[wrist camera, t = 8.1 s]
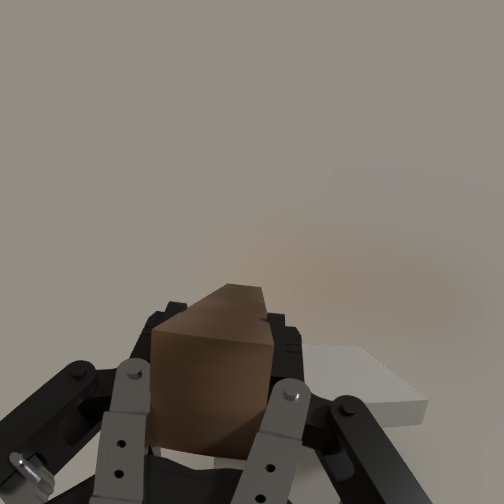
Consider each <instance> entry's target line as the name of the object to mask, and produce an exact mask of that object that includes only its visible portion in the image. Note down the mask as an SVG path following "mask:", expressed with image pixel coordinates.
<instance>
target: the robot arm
mask: <svg viewBox="0 0 504 504" xmlns="http://www.w3.org/2000/svg"><path fill="white" fill-rule="evenodd" d="M185 310H187V304H186V303H179V302H172V301H170V302H169V303H168V305H167V308H166V310H165V312H160V311H156V312H155V313H154V314H153V315H151V316H150V317H149V318H148V320H147V322H146V324H145V327H144V328H143V330H142V333H141V335H140V337H139V339H138V341H137V343H136V345H135V347H134V349H133V351H132V353H131V356H130V358H129V359H127V360H125V361H123V362H122V363H121V364H120V365H119V366H118V368H115V369H105V370H96V369H95V367H94V366H93V365H92V364H91V363H90V362H87V361H82V360H79V361H75V362H72V363H70V364H69V365H67V366H66V367H65V368H64V369H63V370H61V371H60V372H59V373H58V374H56V375H55V376H54V377H53V378H51V379H50V380H49V381H48V382H47V383H45V384H44V385H43V386H42V387H41V388H39V389H38V390H37V391H36V392H35V393H33V394H32V395H31V396H30V397H28V398H27V399H26V400H25V401H24V402H22V403H21V404H20V405H19V406H18V407H16V408H15V409H14V410H13V411H12V412H10V413H9V414H8V415H7V416H6V417H5V418H3V419H2V420H1V421H0V497H1V499H2V500H3V501H4V502H5V504H292V502H291V501H290V500H289V499H288V497H289V493H290V490H291V486H292V482H293V478H294V474H295V471H296V467H297V463H298V459H299V455H300V450H301V446H305V447H308V448H311V449H314V451H315V453H316V455H317V457H318V459H319V460H320V462H321V464H322V466H323V468H324V470H325V472H326V474H327V475H328V477H329V479H330V481H331V483H332V485H333V487H334V488H335V490H336V492H337V494H338V496H339V498H340V500H341V501H342V503H343V504H432V502H431V501H430V499H429V498H428V496H427V495H426V493H425V492H424V490H423V489H422V487H421V486H420V484H419V483H418V481H417V480H416V478H415V477H414V476H413V474H412V472H411V471H410V470H409V468H408V466H407V465H406V464H405V462H404V461H403V459H402V458H401V456H400V455H399V453H398V452H397V450H396V449H395V447H394V446H393V444H392V443H391V441H390V440H389V439H388V437H387V436H386V434H385V433H384V431H383V430H382V428H381V427H380V425H379V424H378V422H377V421H376V419H375V418H374V416H373V415H372V413H371V412H370V411H369V409H368V408H367V406H366V405H365V403H364V402H363V401H362V400H361V399H359V398H357V397H355V396H352V395H342V396H339V397H337V398H336V399H334V400H333V401H331V400H328V399H324V398H321V397H319V396H316V395H315V394H313V393H312V392H311V391H310V389H309V387H308V386H307V385H306V384H305V380H304V366H303V354H302V340H301V335H300V333H299V331H298V330H297V328H296V327H288V326H285V315H284V314H277V313H267V322H268V323H269V324H270V328H271V333H272V337H273V341H274V352H273V360H272V368H271V376H270V383H269V391H268V398H267V406H266V411H265V414H264V417H263V420H262V423H261V426H260V429H259V430H258V432H257V434H256V437H255V440H254V442H253V445H252V448H251V451H250V454H249V456H248V459H247V462H246V464H245V467H244V470H241V469H232V468H219V469H208V470H193V469H191V468H188V467H186V466H183V465H181V464H179V463H176V462H174V461H172V460H169V459H167V458H163V457H161V451H160V447H158V446H157V442H156V439H155V436H154V432H153V428H152V398H151V392H150V391H149V385H150V353H151V333H152V329H153V328H155V327H156V326H158V325H160V324H162V323H163V322H165V321H167V320H168V319H170V318H172V317H173V316H175V315H177V314H178V313H180V312H181V313H182V312H183V311H185ZM100 430H101V433H100V440H99V447H98V456H97V463H96V472H95V473H96V474H94V475H93V476H91V477H89V478H88V479H86V480H84V481H83V482H81V483H79V484H78V485H76V486H74V487H72V488H71V489H69V490H67V491H65V492H64V493H62V494H60V495H58V496H56V497H54V498H53V499H51V500H49V501H48V497H49V495H51V494H52V493H53V491H54V484H55V480H54V476H55V475H56V474H57V473H58V472H59V471H60V470H61V469H62V468H63V467H64V466H65V464H67V463H68V461H70V460H71V459H72V458H73V457H74V456H75V455H76V454H77V453H78V452H79V451H80V450H81V449H82V448H83V447H84V446H85V445H86V444H87V443H88V442H89V441H90V440H91V439H92V438H93V437H94V436H95V435H96V434H97V433H98V432H99V431H100Z"/></svg>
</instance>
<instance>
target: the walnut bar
mask: <svg viewBox="0 0 504 504" xmlns="http://www.w3.org/2000/svg"><path fill="white" fill-rule="evenodd" d="M273 352H274V341H273V337H272V333H271V328H270V324H269V323H268V322H267V311H266V307H265V302H264V298H263V293H262V290H261V287H253V286H244V285H235V284H226V285H224V286H223V287H221V288H220V289H218V290H216V291H215V292H213V293H211V294H210V295H208V296H206V297H205V298H203V299H201V300H200V301H198V302H196V303H195V304H193V305H192V306H190V307H188V308H187V310H185V311H183V312H182V313H181V312H180V313H178V314H177V315H175V316H173V317H172V318H170V319H168V320H167V321H165V322H163V323H162V324H160V325H158V326H156V327H155V328H153V329H152V333H151V353H150V385H149V391H150V392H151V398H152V428H153V432H154V436H155V439H156V442H157V446H158V447H161V448H166V449H171V450H176V451H181V452H187V453H193V454H199V455H205V456H212V457H220V458H228V459H237V460H247V459H248V456H249V454H250V451H251V448H252V445H253V442H254V440H255V437H256V434H257V432H258V430H259V429H260V426H261V423H262V420H263V417H264V414H265V411H266V406H267V398H268V391H269V383H270V376H271V368H272V360H273Z"/></svg>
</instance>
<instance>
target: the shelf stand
mask: <svg viewBox="0 0 504 504" xmlns="http://www.w3.org/2000/svg"><path fill="white" fill-rule="evenodd" d="M302 354H303V366H304V380H305V384H306V385H307V386H308V387H309V389H310V391H311V392H312V393H313V394H315V395H316V396H319V397H321V398H324V399H328V400H331V401H333V400H334V399H336V398H337V397H339V396H342V395H352V396H355V397H357V398H359V399H361V400H362V401H363V402H364V403H365V405H366V406H367V408H368V409H369V411H370V412H371V413H372V415H373V416H374V418H375V419H376V421H377V422H378V424H379V425H380V427H381V428H385V427H398V426H409V425H418V424H422V421H423V417H424V414H425V410H426V407H427V402H428V399H427V398H426V397H424V396H423V395H422V394H421V393H419V392H418V391H417V390H415V389H414V388H412V387H411V386H410V385H409V384H407V383H406V382H405V381H403V380H402V379H401V378H399V377H398V376H397V375H395V374H394V373H393V372H392V371H390V370H389V369H388V368H386V367H385V366H384V365H382V364H381V363H380V362H379V361H377V360H376V359H375V358H373V357H372V356H371V355H369V354H368V353H367V352H366V351H364V350H363V349H362V348H360V347H358V346H337V345H319V344H304V343H302ZM246 462H247V460H237V459H228V458H220V457H215V459H214V469H219V468H232V469H241V470H244V467H245V464H246ZM288 499H289V500H290V501H291V502H292V504H339V502H340V498H339V496H338V494H337V492H336V490H335V488H334V487H333V485H332V483H331V481H330V479H329V477H328V475H327V474H326V472H325V470H324V468H323V466H322V464H321V462H320V460H319V459H318V457H317V455H316V453H315V451H314V449H311V448H308V447H305V446H301V450H300V455H299V459H298V463H297V467H296V471H295V474H294V478H293V482H292V486H291V490H290V493H289V497H288Z"/></svg>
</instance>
